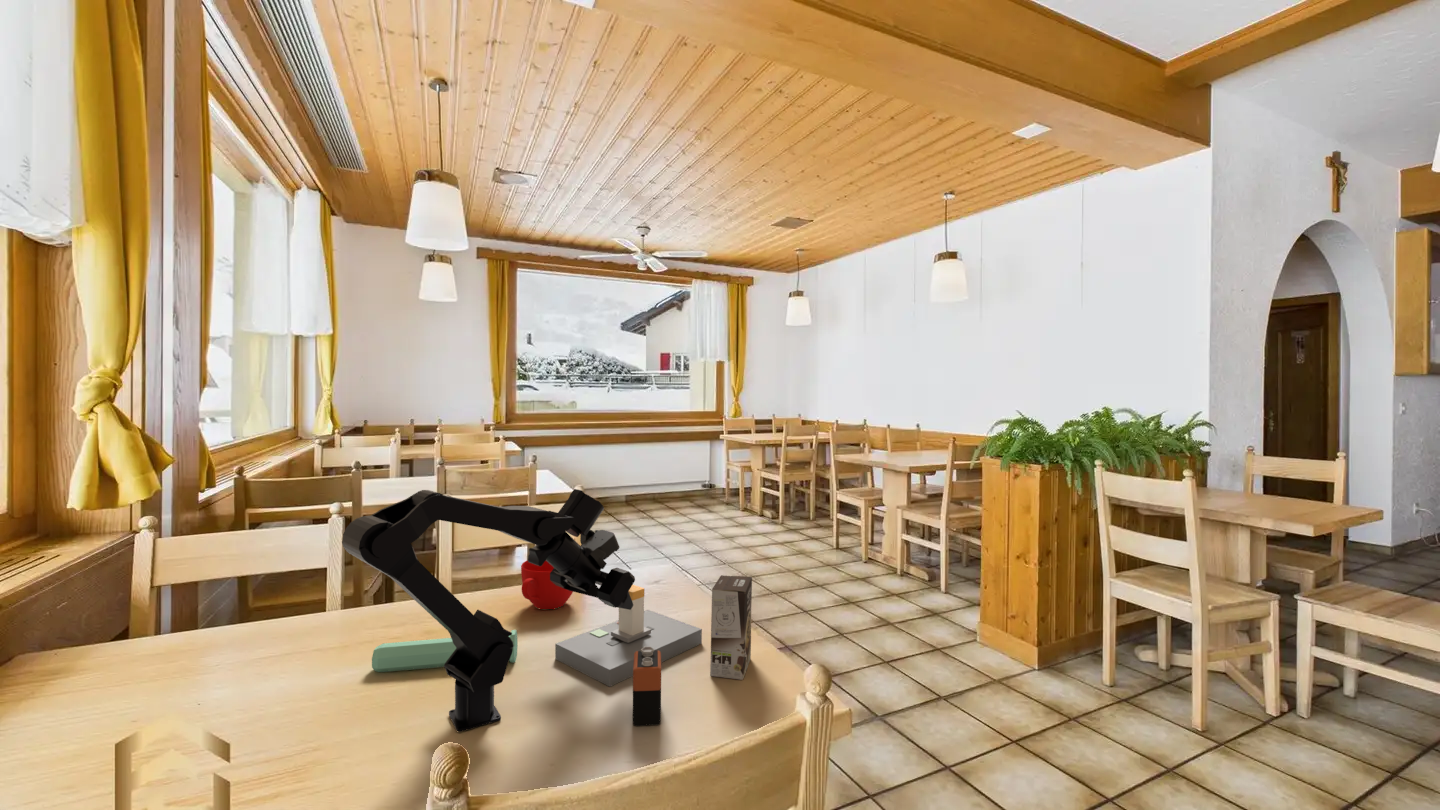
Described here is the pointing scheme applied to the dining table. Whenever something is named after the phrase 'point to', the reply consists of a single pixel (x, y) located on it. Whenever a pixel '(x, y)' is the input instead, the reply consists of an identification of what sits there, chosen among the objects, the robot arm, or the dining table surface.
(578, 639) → the panel
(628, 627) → the breaker handle
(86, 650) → the dining table surface
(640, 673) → the battery
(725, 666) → the coffee box
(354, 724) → the dining table surface
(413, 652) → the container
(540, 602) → the ceramic cup
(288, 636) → the dining table surface
